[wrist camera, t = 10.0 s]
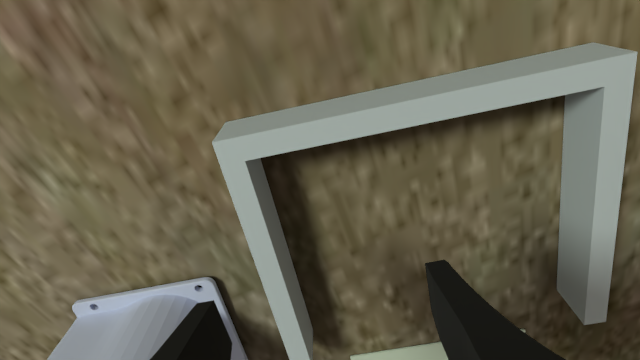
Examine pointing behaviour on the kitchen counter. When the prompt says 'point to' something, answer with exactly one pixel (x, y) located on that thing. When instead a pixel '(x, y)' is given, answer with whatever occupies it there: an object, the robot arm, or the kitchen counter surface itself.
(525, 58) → the u-shaped barrier
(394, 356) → the mat
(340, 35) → the kitchen counter surface
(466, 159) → the kitchen counter surface
